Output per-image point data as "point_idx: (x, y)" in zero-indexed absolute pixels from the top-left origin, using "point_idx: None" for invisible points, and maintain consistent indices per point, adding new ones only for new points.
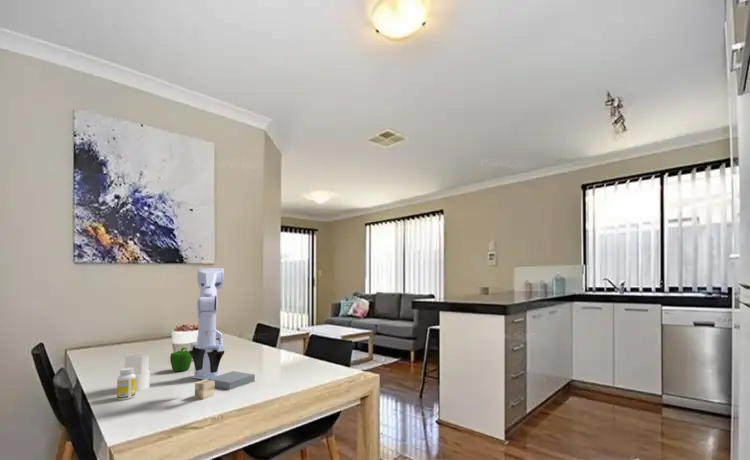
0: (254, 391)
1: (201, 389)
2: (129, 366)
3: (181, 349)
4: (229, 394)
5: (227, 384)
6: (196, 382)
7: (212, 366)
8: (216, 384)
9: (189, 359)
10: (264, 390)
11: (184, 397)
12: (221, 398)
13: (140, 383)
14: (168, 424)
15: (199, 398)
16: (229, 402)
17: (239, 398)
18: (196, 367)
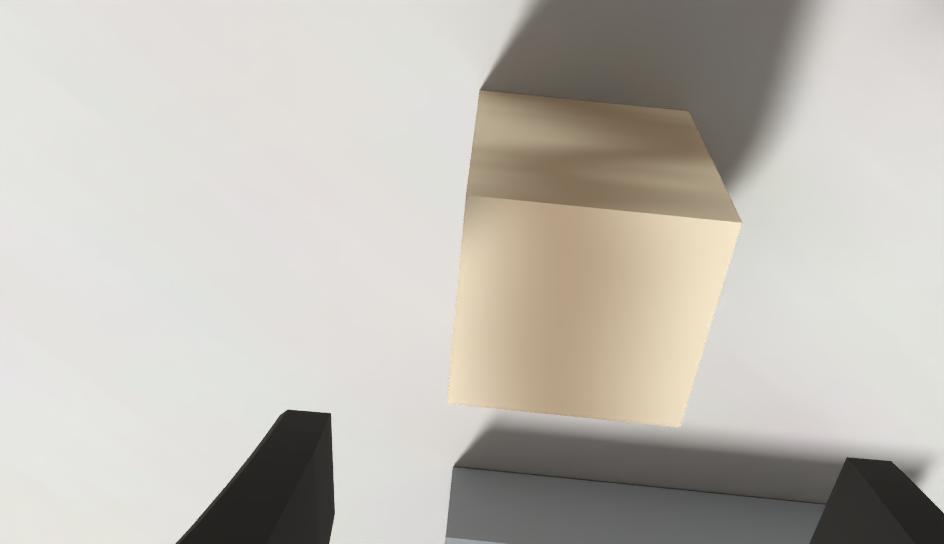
0: (136, 496)
1: (532, 157)
2: None
3: None
4: (310, 353)
5: (492, 519)
6: (723, 246)
7: (195, 525)
8: (704, 519)
9: None
10: (71, 541)
11: (869, 59)
12: (266, 209)
13: None
14: None
15: (571, 99)
16: (9, 121)
17: (52, 281)
18: (887, 510)
